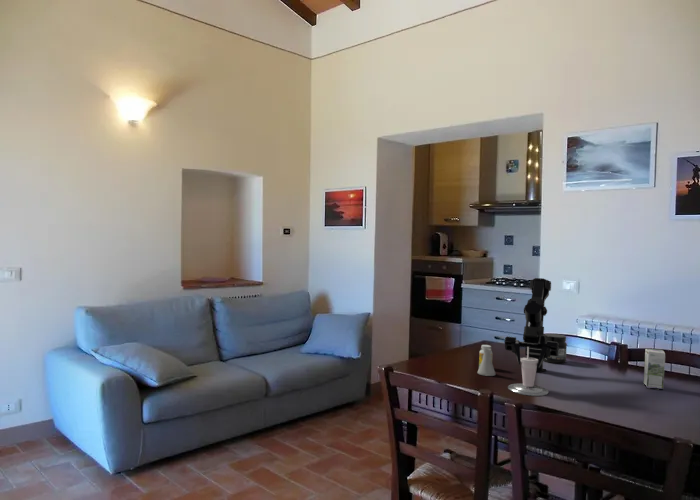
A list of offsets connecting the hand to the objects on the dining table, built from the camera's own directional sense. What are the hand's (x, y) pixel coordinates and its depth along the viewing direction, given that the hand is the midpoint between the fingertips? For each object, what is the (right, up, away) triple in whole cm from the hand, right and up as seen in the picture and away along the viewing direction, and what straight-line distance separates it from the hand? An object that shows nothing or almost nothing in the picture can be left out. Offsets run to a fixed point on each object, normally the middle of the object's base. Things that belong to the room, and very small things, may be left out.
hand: (528, 365), depth 186 cm
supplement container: (+29, -9, +50) cm, 58 cm away
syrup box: (+52, -11, +12) cm, 54 cm away
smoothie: (0, -8, +1) cm, 8 cm away
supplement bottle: (-7, -8, +32) cm, 34 cm away
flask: (-10, -9, +22) cm, 25 cm away
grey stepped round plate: (0, -9, +1) cm, 9 cm away
